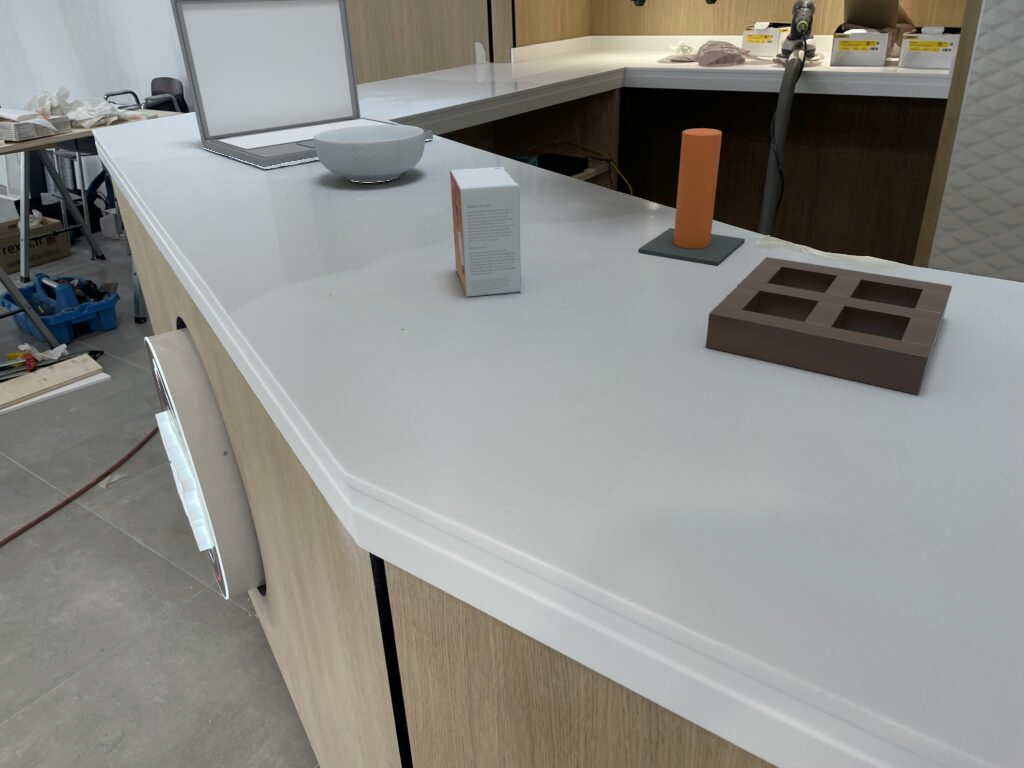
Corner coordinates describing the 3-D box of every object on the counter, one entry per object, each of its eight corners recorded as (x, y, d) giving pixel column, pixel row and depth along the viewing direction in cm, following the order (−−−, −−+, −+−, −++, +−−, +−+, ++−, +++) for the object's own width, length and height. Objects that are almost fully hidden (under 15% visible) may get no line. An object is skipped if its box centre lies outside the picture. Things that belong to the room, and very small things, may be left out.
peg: (681, 236, 84) (690, 127, 78) (715, 241, 82) (727, 129, 76) (667, 245, 81) (676, 133, 75) (702, 251, 79) (714, 136, 73)
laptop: (264, 170, 123) (232, -5, 110) (202, 149, 141) (168, -3, 129) (433, 140, 143) (421, -11, 130) (359, 125, 161) (343, -9, 148)
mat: (669, 231, 87) (670, 227, 87) (744, 242, 83) (745, 238, 83) (638, 252, 81) (638, 248, 80) (717, 265, 76) (718, 261, 76)
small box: (455, 270, 77) (448, 168, 72) (507, 265, 78) (504, 165, 73) (465, 298, 70) (458, 187, 65) (522, 292, 71) (519, 183, 66)
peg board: (762, 286, 71) (766, 256, 69) (943, 318, 63) (952, 285, 62) (705, 347, 59) (709, 313, 58) (918, 395, 52) (928, 357, 50)
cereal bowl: (447, 171, 119) (444, 125, 115) (386, 195, 106) (380, 145, 102) (364, 163, 126) (358, 120, 122) (297, 185, 113) (289, 137, 109)
